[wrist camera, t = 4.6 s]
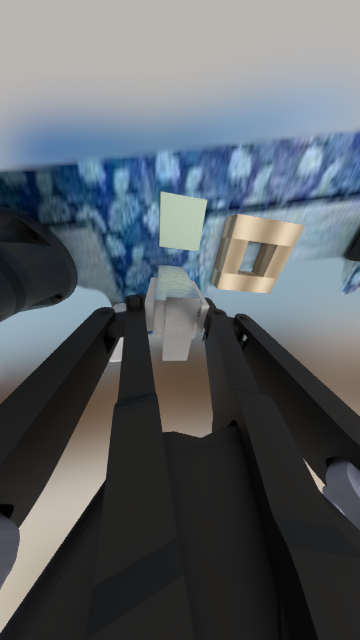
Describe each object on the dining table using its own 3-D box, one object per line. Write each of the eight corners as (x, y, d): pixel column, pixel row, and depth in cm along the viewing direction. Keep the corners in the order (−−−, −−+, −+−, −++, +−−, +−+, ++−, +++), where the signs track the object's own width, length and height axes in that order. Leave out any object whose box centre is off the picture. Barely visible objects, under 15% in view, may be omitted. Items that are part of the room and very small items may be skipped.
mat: (159, 246, 23) (159, 246, 23) (161, 192, 19) (160, 191, 19) (197, 251, 24) (198, 251, 24) (206, 200, 20) (207, 200, 20)
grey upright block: (158, 294, 22) (152, 360, 10) (159, 257, 19) (152, 295, 7) (179, 295, 22) (196, 360, 11) (184, 260, 19) (212, 299, 8)
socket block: (211, 282, 28) (217, 288, 24) (227, 217, 22) (238, 213, 18) (257, 286, 29) (269, 293, 26) (284, 226, 23) (304, 225, 20)
